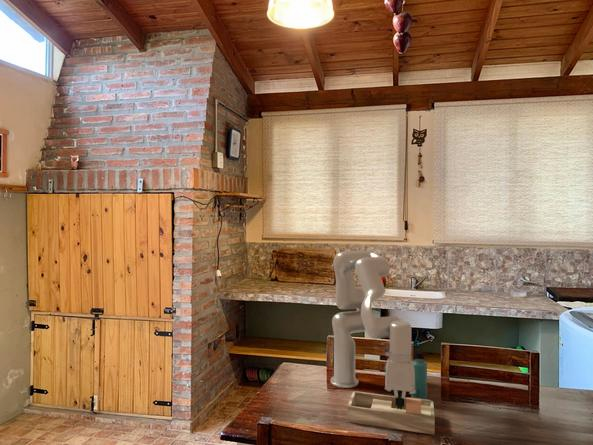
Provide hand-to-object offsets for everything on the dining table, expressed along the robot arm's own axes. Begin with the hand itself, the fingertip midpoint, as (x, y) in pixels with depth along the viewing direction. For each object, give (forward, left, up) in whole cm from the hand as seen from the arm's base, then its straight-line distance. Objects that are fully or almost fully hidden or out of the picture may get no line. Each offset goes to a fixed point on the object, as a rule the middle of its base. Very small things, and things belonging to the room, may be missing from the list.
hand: (399, 407), depth 146 cm
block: (0, +5, -2) cm, 5 cm away
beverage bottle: (-21, +7, -6) cm, 23 cm away
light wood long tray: (-3, -3, -6) cm, 7 cm away
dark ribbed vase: (-38, -2, -6) cm, 39 cm away
